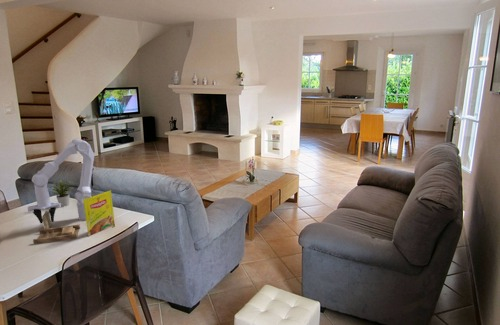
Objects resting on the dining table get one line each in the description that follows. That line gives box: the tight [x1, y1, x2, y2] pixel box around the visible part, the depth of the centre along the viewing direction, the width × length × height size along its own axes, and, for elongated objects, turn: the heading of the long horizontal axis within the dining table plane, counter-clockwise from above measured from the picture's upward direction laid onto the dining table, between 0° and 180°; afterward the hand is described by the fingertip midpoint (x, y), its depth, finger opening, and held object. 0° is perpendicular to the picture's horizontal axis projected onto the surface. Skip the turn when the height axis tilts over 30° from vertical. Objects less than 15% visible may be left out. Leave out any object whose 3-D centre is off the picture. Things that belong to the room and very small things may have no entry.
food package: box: [83, 189, 116, 237], centre depth 175 cm, size 15×1×20 cm, turn 149°
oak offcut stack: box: [61, 225, 75, 236], centre depth 173 cm, size 5×8×2 cm, turn 16°
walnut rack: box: [32, 224, 81, 245], centre depth 172 cm, size 18×12×3 cm, turn 106°
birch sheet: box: [42, 210, 52, 229], centre depth 180 cm, size 2×7×8 cm, turn 17°
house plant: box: [52, 179, 75, 208], centre depth 210 cm, size 14×14×16 cm
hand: (47, 222), depth 180 cm, fingers open, 4 cm apart
